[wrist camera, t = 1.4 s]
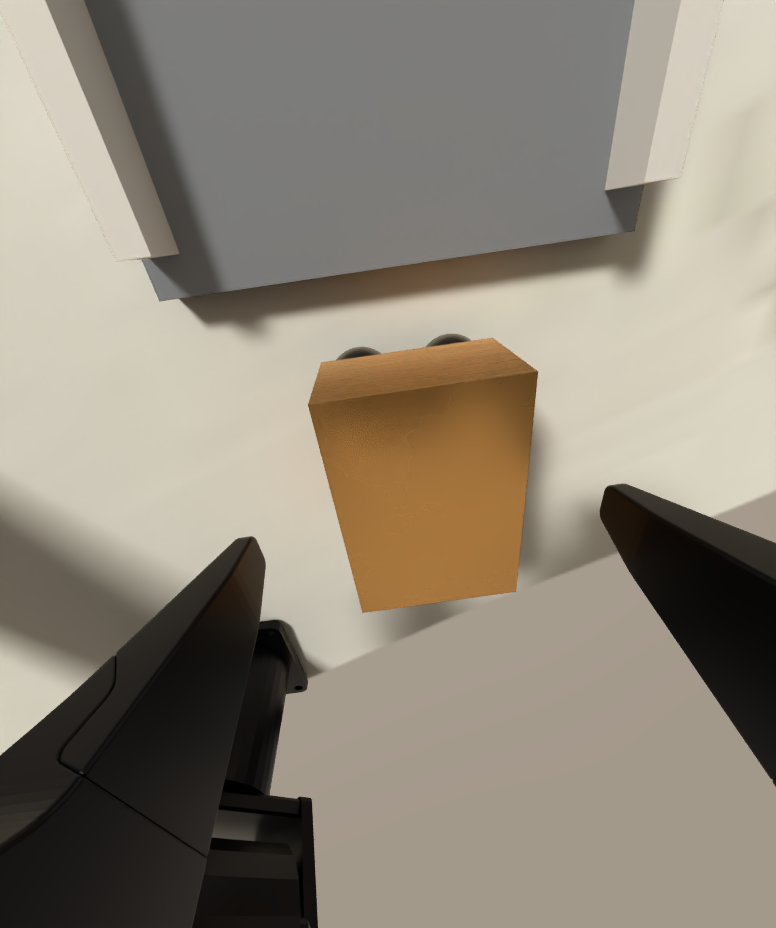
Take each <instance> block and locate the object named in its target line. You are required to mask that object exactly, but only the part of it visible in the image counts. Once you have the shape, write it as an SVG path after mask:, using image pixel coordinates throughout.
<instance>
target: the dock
mask: <svg viewBox="0 0 776 928" xmlns="http://www.w3.org/2000/svg"><path fill="white" fill-rule="evenodd" d="M723 1H724V0H0V13H1V15H2V17H3V19H4V21H5V23H6V26H7V28H8V30H9V32H10V34H11V36H12V38H13V41H14V43H15V45H16V47H17V49H18V51H19V54H20V56H21V58H22V60H23V62H24V64H25V67H26V69H27V71H28V73H29V75H30V77H31V79H32V82H33V84H34V86H35V88H36V90H37V92H38V95H39V97H40V99H41V101H42V103H43V105H44V107H45V110H46V112H47V114H48V116H49V118H50V120H51V123H52V125H53V127H54V129H55V131H56V133H57V135H58V138H59V140H60V142H61V144H62V146H63V148H64V151H65V153H66V155H67V157H68V159H69V161H70V163H71V166H72V168H73V170H74V172H75V174H76V176H77V179H78V181H79V183H80V185H81V187H82V189H83V192H84V194H85V196H86V198H87V200H88V202H89V204H90V207H91V209H92V211H93V213H94V215H95V217H96V220H97V222H98V224H99V226H100V228H101V230H102V232H103V235H104V237H105V239H106V241H107V243H108V245H109V248H110V250H111V252H112V254H113V256H114V258H115V260H116V262H117V261H128V260H139V259H142V262H143V264H144V266H145V269H146V271H147V273H148V276H149V278H150V280H151V283H152V285H153V287H154V290H155V292H156V294H157V296H158V299H159V301H166V300H172V299H179V298H186V297H193V296H199V295H206V294H213V293H220V292H226V291H233V290H240V289H247V288H253V287H260V286H267V285H274V284H281V283H287V282H294V281H301V280H308V279H314V278H321V277H328V276H335V275H341V274H348V273H355V272H362V271H368V270H375V269H382V268H389V267H395V266H402V265H409V264H416V263H422V262H429V261H436V260H443V259H449V258H456V257H463V256H470V255H476V254H483V253H490V252H497V251H503V250H510V249H517V248H524V247H531V246H537V245H544V244H551V243H558V242H564V241H571V240H578V239H585V238H591V237H598V236H605V235H612V234H618V233H625V232H632V231H634V230H635V225H636V221H637V216H638V211H639V206H640V201H641V196H642V191H643V186H644V184H648V183H654V182H659V181H664V180H669V179H674V178H680V177H681V173H682V169H683V165H684V160H685V156H686V152H687V148H688V144H689V140H690V136H691V132H692V128H693V124H694V120H695V115H696V111H697V107H698V103H699V99H700V95H701V91H702V87H703V83H704V79H705V75H706V70H707V66H708V62H709V58H710V54H711V50H712V46H713V42H714V38H715V34H716V30H717V25H718V21H719V17H720V13H721V9H722V5H723Z"/></svg>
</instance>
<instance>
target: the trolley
mask: <svg viewBox="0 0 776 928" xmlns="http://www.w3.org/2000/svg"><path fill="white" fill-rule="evenodd" d="M537 377H538V371H537V370H535V369H534V368H533V367H531V366H530V365H529V364H527V363H526V362H525V361H523V360H522V359H520V358H519V357H518V356H516V355H515V354H514V353H512V352H511V351H510V350H508V349H507V348H506V347H504V346H503V345H502V344H500V343H499V342H498V341H496V340H495V339H494V338H487V339H481V340H474V341H471V340H470V339H468V338H467V337H465V336H462V335H459V334H445V335H442V336H439V337H437V338H435V339H434V340H432V341H431V342H430V343H429V344H428V345H427V346H426V347H425V348H419V349H412V350H405V351H398V352H391V353H384V354H381V353H379V352H378V351H376V350H374V349H371V348H367V347H356V348H352V349H349V350H347V351H346V352H344V353H343V354H341V355H340V356H339V357H338V359H337V360H336V361H330V362H323V363H321V365H320V368H319V371H318V374H317V378H316V381H315V384H314V387H313V391H312V394H311V397H310V400H309V403H308V406H309V410H310V414H311V418H312V422H313V425H314V429H315V433H316V437H317V441H318V444H319V448H320V452H321V456H322V460H323V463H324V467H325V471H326V475H327V479H328V483H329V486H330V490H331V494H332V498H333V502H334V505H335V509H336V513H337V517H338V521H339V524H340V528H341V532H342V536H343V540H344V543H345V547H346V551H347V555H348V559H349V562H350V566H351V570H352V574H353V578H354V581H355V585H356V589H357V593H358V597H359V600H360V604H361V608H362V612H363V613H365V612H372V611H379V610H386V609H394V608H401V607H408V606H415V605H422V604H430V603H437V602H444V601H451V600H459V599H466V598H473V597H480V596H487V595H495V594H502V593H509V592H516V586H517V577H518V567H519V557H520V547H521V537H522V527H523V517H524V507H525V497H526V487H527V477H528V467H529V457H530V447H531V437H532V427H533V417H534V407H535V397H536V387H537Z"/></svg>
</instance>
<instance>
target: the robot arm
mask: <svg viewBox="0 0 776 928" xmlns="http://www.w3.org/2000/svg"><path fill="white" fill-rule="evenodd" d="M600 517H601V520H602V522H603V524H604V526H605V528H606V530H607V531H608V533H609V535H610V537H611V539H612V541H613V543H614V545H615V546H616V548H617V550H618V552H619V554H620V556H621V558H622V559H623V561H624V563H625V565H626V566H627V568H628V570H629V572H630V573H631V575H632V576H633V578H634V579H635V581H636V582H637V584H638V585H639V587H640V588H641V589H642V591H643V593H644V594H645V595H646V597H647V598H648V600H649V601H650V603H651V604H652V606H653V607H654V609H655V610H656V612H657V613H658V614H659V616H660V617H661V619H662V620H663V622H664V623H665V625H666V626H667V628H668V629H669V630H670V632H671V634H672V635H673V637H674V638H675V639H676V641H677V642H678V644H679V645H680V647H681V648H682V649H683V651H684V653H685V654H686V655H687V657H688V658H689V660H690V661H691V663H692V664H693V666H694V667H695V669H696V670H697V672H698V673H699V675H700V676H701V677H702V679H703V680H704V682H705V683H706V685H707V686H708V688H709V689H710V691H711V692H712V694H713V695H714V697H715V698H716V699H717V701H718V702H719V704H720V705H721V707H722V708H723V710H724V711H725V712H726V714H727V716H728V717H729V718H730V720H731V721H732V723H733V724H734V726H735V727H736V729H737V730H738V732H739V733H740V735H741V736H742V737H743V739H744V740H745V742H746V743H747V745H748V746H749V748H750V749H751V750H752V752H753V754H754V755H755V756H756V758H757V759H758V761H759V762H760V764H761V765H762V767H763V768H764V770H765V771H766V772H767V774H768V776H769V777H770V778H771V779H773V783H774V785H775V786H776V543H774V542H772V541H769V540H767V539H764V538H762V537H759V536H756V535H754V534H751V533H749V532H746V531H744V530H741V529H739V528H736V527H734V526H731V525H729V524H726V523H724V522H721V521H719V520H716V519H713V518H711V517H708V516H706V515H703V514H701V513H698V512H696V511H693V510H691V509H688V508H686V507H683V506H681V505H678V504H676V503H673V502H670V501H668V500H665V499H663V498H660V497H658V496H655V495H653V494H650V493H648V492H645V491H643V490H640V489H638V488H635V487H633V486H630V485H627V484H616V485H610V486H607V487H606V489H605V491H604V495H603V499H602V503H601V507H600ZM265 568H266V564H265V559H264V556H263V554H262V551H261V549H260V547H259V545H258V542H257V540H256V539H255V538H254V537H252V536H250V537H243V538H238V539H236V540H235V541H234V542H233V543H232V544H231V545H230V546H229V547H227V548H226V549H225V550H224V551H223V552H222V553H221V554H220V555H219V556H218V557H217V558H216V559H215V560H214V561H213V562H212V563H211V564H209V565H208V566H207V567H206V568H205V569H204V570H203V571H202V572H201V573H200V574H199V575H198V576H197V577H196V578H195V579H194V580H193V581H192V582H190V583H189V584H188V585H187V586H186V587H185V588H184V589H183V590H182V591H181V592H180V593H179V594H178V595H177V596H176V597H175V598H174V599H173V600H171V601H170V602H169V603H168V604H167V605H166V606H165V607H164V608H163V609H162V610H161V611H160V612H159V613H158V614H157V615H156V616H155V617H153V618H152V619H151V620H150V621H149V622H148V623H147V624H146V625H145V626H144V627H143V628H142V629H141V630H140V631H139V632H138V633H137V634H136V635H134V636H133V637H132V638H131V639H130V640H129V641H128V642H127V643H126V644H125V645H124V646H123V647H122V648H121V649H120V650H119V651H118V652H117V653H116V655H114V656H112V657H111V658H110V659H109V660H108V661H107V662H106V663H105V664H104V665H103V666H102V667H101V668H99V669H98V670H97V671H96V672H95V673H94V674H93V675H92V676H91V677H90V678H89V679H88V680H86V681H85V682H84V683H83V684H82V685H81V686H80V687H79V688H78V689H77V690H76V691H74V692H73V693H72V694H71V695H70V696H69V697H68V698H67V699H66V700H64V701H63V702H62V703H61V704H60V705H59V706H58V707H56V708H55V709H54V710H53V711H52V712H51V713H49V714H48V715H47V716H46V717H45V718H44V719H43V720H41V721H40V722H39V723H38V724H37V725H36V726H34V727H33V728H32V729H31V730H30V731H29V732H27V733H26V734H25V735H24V736H23V737H22V738H20V739H19V740H18V741H17V742H16V743H14V744H13V745H12V746H11V747H10V748H9V749H7V750H6V751H5V752H4V753H3V754H2V755H0V928H318V920H317V899H316V878H315V857H314V836H313V815H312V800H311V798H306V797H298V798H297V799H293V798H285V797H278V796H270V788H271V782H272V775H273V770H274V764H275V757H276V751H277V745H278V739H279V733H280V726H281V721H282V714H283V708H284V702H285V696H286V694H290V693H298V692H303V691H305V690H306V689H307V684H308V680H307V677H306V675H305V673H304V671H303V669H302V667H301V665H300V663H299V660H298V658H297V656H296V654H295V652H294V650H293V648H292V646H291V643H290V641H289V639H288V637H287V635H286V633H285V631H284V629H283V627H282V625H281V624H280V623H278V622H275V621H268V622H261V623H259V622H260V614H261V605H262V596H263V587H264V577H265Z"/></svg>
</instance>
